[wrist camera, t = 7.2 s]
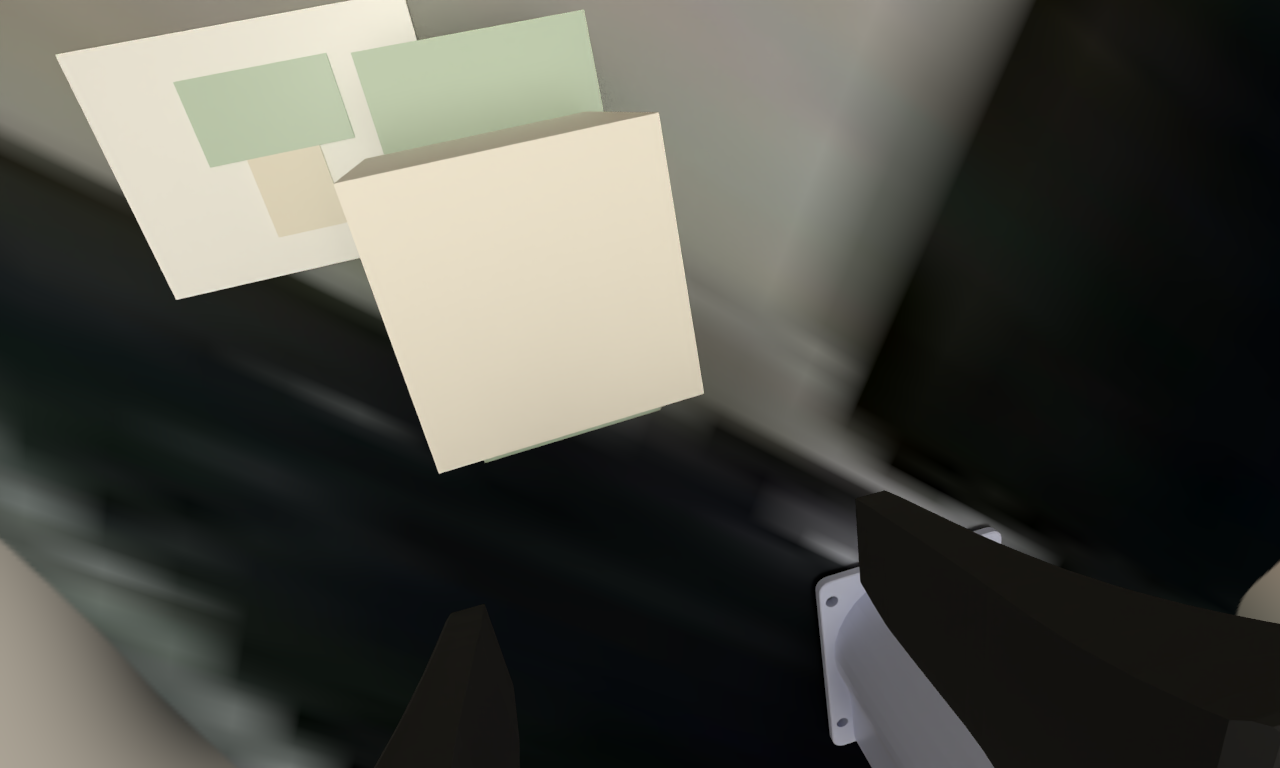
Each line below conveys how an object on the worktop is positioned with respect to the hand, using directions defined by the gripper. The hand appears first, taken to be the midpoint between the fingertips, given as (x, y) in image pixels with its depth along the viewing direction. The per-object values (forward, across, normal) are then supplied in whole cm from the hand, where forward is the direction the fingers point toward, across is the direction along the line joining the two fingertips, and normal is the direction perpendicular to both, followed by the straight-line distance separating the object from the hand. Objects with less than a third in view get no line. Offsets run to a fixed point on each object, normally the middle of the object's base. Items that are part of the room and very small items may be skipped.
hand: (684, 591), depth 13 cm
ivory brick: (+5, +2, -6) cm, 8 cm away
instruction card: (+10, +7, -9) cm, 15 cm away
